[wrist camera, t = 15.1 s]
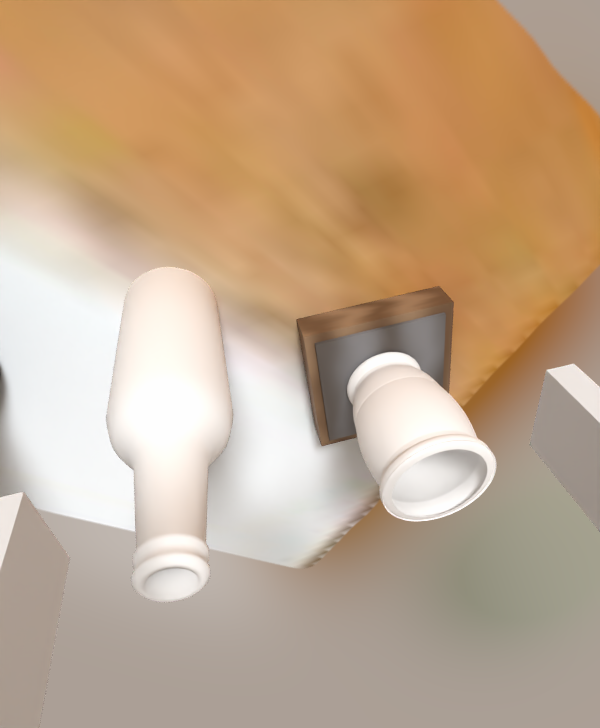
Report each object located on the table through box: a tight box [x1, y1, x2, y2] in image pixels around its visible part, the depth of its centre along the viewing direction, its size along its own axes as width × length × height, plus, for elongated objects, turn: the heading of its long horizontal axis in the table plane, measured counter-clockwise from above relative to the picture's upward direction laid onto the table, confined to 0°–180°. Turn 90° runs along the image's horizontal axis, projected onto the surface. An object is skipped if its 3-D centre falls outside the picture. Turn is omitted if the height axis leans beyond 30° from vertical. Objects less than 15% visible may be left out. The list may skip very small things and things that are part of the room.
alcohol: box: [106, 267, 233, 602], centre depth 38 cm, size 9×9×30 cm
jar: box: [347, 352, 496, 521], centre depth 50 cm, size 11×10×15 cm
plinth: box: [297, 286, 454, 446], centre depth 58 cm, size 16×16×4 cm
